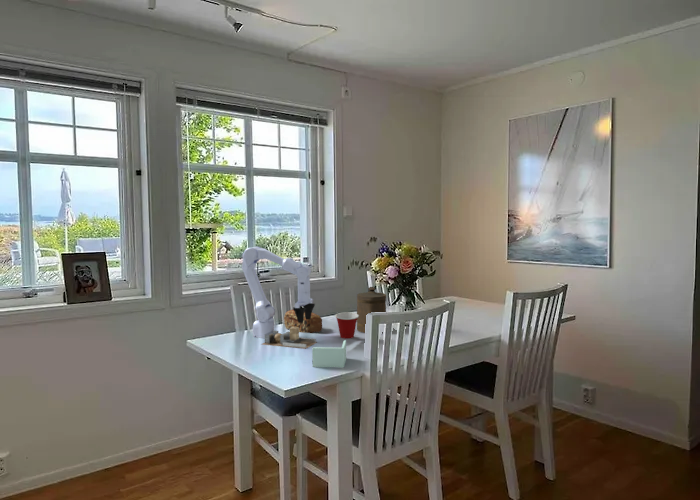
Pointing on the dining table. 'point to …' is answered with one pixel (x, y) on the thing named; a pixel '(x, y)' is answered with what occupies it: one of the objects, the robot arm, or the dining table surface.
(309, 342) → the press base
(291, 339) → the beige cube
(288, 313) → the bread
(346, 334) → the plastic cup
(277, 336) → the tan ball
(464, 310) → the dining table surface
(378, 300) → the wooden container
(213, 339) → the dining table surface
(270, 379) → the dining table surface
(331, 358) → the right angle wall
